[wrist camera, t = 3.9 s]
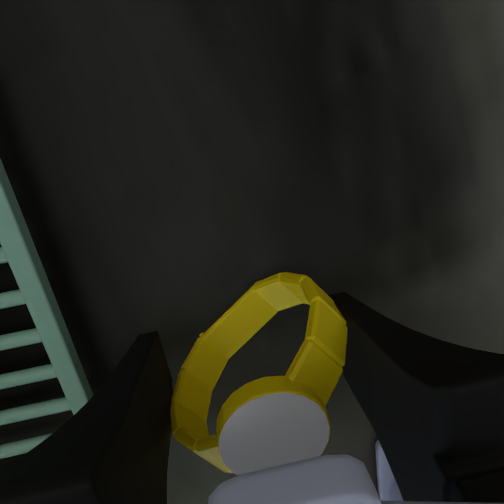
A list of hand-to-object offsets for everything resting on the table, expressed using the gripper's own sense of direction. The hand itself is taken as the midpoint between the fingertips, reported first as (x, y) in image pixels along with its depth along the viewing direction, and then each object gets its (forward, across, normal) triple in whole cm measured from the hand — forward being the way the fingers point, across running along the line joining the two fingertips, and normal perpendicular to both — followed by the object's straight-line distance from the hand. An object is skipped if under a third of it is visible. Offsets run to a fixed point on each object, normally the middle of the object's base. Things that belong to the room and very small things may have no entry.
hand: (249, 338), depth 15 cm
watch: (+2, 0, 0) cm, 2 cm away
